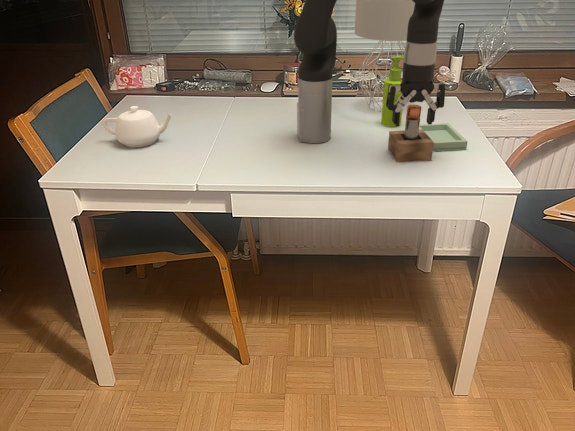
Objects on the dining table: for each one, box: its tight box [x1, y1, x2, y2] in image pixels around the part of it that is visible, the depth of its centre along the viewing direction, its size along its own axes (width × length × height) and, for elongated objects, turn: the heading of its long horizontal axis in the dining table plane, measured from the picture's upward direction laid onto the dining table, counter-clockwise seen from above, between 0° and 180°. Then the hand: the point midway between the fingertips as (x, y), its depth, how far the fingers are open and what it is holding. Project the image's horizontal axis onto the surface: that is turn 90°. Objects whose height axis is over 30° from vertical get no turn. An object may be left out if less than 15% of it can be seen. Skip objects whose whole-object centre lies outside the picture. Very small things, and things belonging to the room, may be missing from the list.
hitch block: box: [387, 129, 434, 163], centre depth 139 cm, size 9×9×5 cm
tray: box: [419, 122, 468, 153], centre depth 148 cm, size 10×14×2 cm
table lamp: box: [354, 0, 415, 112], centre depth 165 cm, size 22×22×40 cm
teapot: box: [101, 105, 174, 148], centre depth 149 cm, size 20×12×10 cm, turn 90°
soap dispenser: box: [380, 55, 404, 128], centre depth 156 cm, size 6×7×20 cm
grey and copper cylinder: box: [404, 104, 422, 140], centre depth 137 cm, size 4×4×13 cm
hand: (412, 124), depth 136 cm, fingers open, 8 cm apart
